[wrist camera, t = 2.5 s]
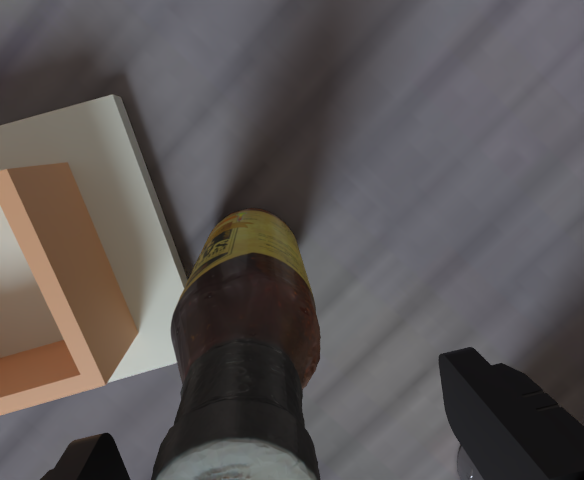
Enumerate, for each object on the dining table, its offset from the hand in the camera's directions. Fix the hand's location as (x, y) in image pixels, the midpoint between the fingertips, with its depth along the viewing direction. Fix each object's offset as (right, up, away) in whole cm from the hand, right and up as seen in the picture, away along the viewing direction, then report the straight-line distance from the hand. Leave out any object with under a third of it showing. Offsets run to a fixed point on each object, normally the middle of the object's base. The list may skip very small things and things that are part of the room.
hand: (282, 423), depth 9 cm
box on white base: (-18, +2, +17) cm, 25 cm away
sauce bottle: (-3, +4, +19) cm, 19 cm away
